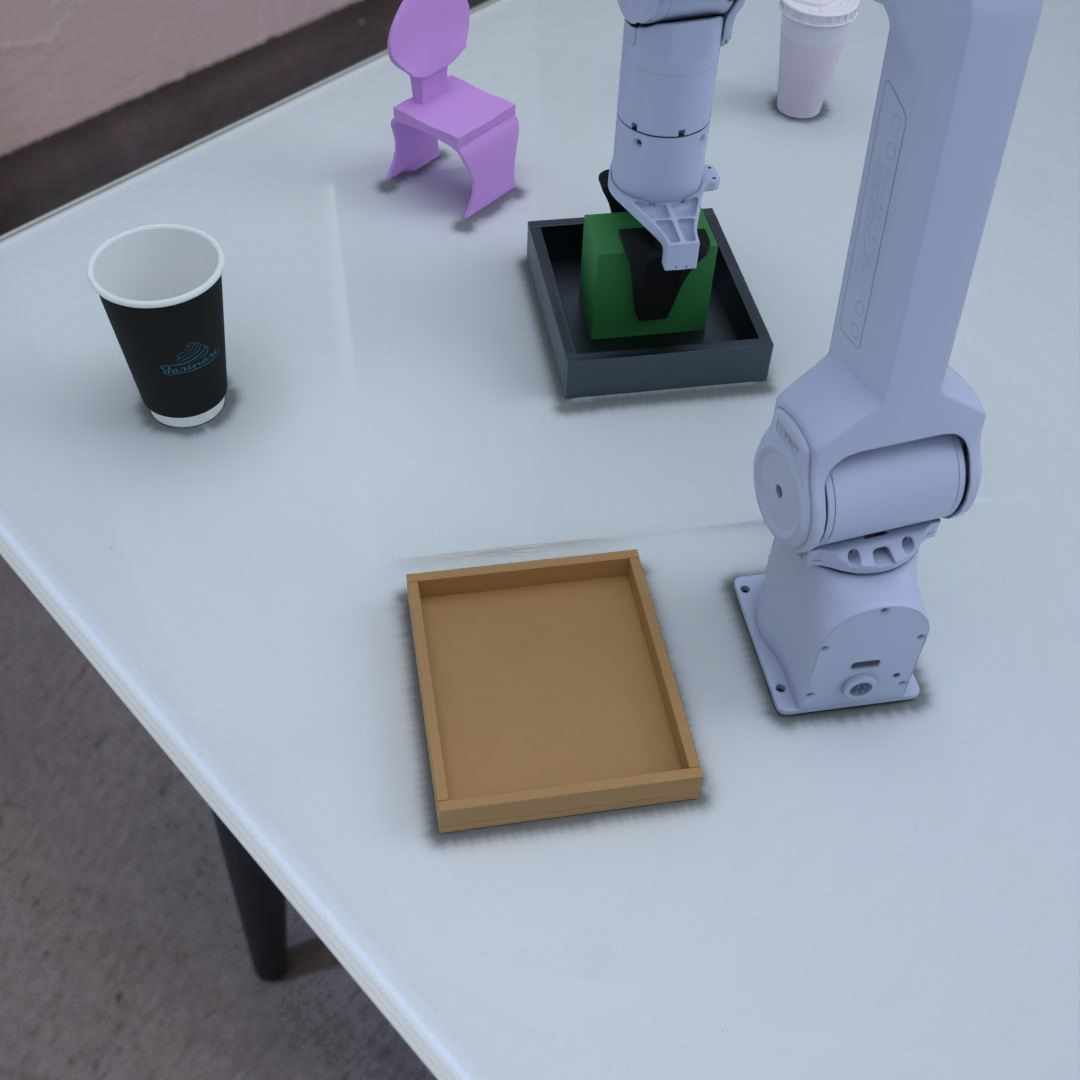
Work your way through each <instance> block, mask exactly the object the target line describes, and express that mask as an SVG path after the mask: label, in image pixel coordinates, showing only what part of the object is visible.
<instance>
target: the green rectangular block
mask: <svg viewBox="0 0 1080 1080" xmlns="http://www.w3.org/2000/svg"><path fill="white" fill-rule="evenodd" d="M702 209H703V208H702V207H701V208H700V213H699V219H698V225H697V229H704V228H705V230H706V232H707V235H708V237H709V239H710V248H709V251H708V254H707V255H706V256H705V257H704V258H703V259H702V260H701V261H700V262H699V263H698V264H697V266H696V268H693V270H692V271H691V272H690V273H689V275H688V276H687V278H686V280H685V281H684V283H683V285H682V287H681V289H680V291H679V293H678V296H677V298H676V300H675V303H674V305H673V307H672V309H671V311H670V313H669V315H668V317H667V318H666V319H658V320H646V321H639V320H638V318H637V316H636V312H635V308H634V302H633V288H632V274H631V268H630V263H629V260H628V258H627V256H626V254H625V251H624V249H623V246H622V244H621V241H620V238H619V235H618V232H619V229H628V228H641V227H644V226H643V225H642V224H641V223H640V222H639V221H638V220H637V219H636V218H635V217H634V216H633V215H632V214H630V213H629V212H618V213H611V212H607V213H605V212H604V213H591V214H584V216H583V217H584V229H583V244H582V259H581V274H580V290H579V302H580V305H581V308H582V311H583V315H584V318H585V321H586V324H587V328H588V331H589V334H590V337H591V340H596V339H607V338H619V337H631V336H642V335H654V334H666V333H677V332H689V331H701V330H705V325H706V318H707V312H708V306H709V299H710V293H711V287H712V280H713V274H714V268H715V261H716V255H717V249H718V244H717V242H716V240H715V238H714V235H713V233H712V231H711V229H710V226H709V224H708V222H707V219H706V217H705V215H704V213H703V210H702Z"/></svg>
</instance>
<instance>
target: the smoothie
mask: <svg viewBox="0 0 1080 1080" xmlns="http://www.w3.org/2000/svg"><path fill="white" fill-rule="evenodd" d="M777 4H778V9H779V10H780V13H781V18H780V35H779V36H780V39H779V57H778V58H779V59H778V77H777V78H778V79H777V98H776V99H777V100H776V107H777V110H778V111H779V112H780V113H782V114H783V115H786V116H787V117H790V118H793V119H810V118H814V117H816V116H818V115H819V114H820V112H821V110H822V106H823V103H824V101H825V98H826V95H827V92H828V89H829V86H830V83H831V81H832V77H833V75H834V72H835V69H836V66H837V64H838V60H839V59H840V55H841V51H842V49H843V47H844V43H845V40H846V38H847V35H848V32H849V28H850V26H851V23H852V22H853V21H855V19H856V18H857V16H858V14H859V7H860V0H779V1H778V2H777Z"/></svg>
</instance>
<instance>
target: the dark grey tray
mask: <svg viewBox="0 0 1080 1080" xmlns="http://www.w3.org/2000/svg"><path fill="white" fill-rule="evenodd" d="M702 210H703V213H704V215H705V217H706V219H707V222H708V224H709V226H710V229H711V231H712V233H713V235H714V238H715V240H716V242H717V244H718V249H717V255H716V261H715V268H714V274H713V280H712V287H711V293H710V299H709V306H708V312H707V318H706V325H705V330H701V331H689V332H677V333H666V334H654V335H642V336H631V337H619V338H607V339H596V340H591V337H590V334H589V331H588V328H587V324H586V321H585V318H584V315H583V311H582V308H581V305H580V302H579V290H580V274H581V259H582V244H583V229H584V216H583V217H582V216H581V217H568V218H556V219H555V218H554V219H553V218H552V219H541V220H528V221H527V234H526V236H527V237H526V259H527V263H528V266H529V270H530V274H531V277H532V281H533V284H534V288H535V292H536V296H537V300H538V303H539V306H540V310H541V314H542V319H543V321H544V325H545V329H546V332H547V336H548V340H549V343H550V347H551V351H552V354H553V358H554V361H555V365H556V369H557V372H558V373H557V374H558V376H559V380H560V384H561V387H562V391H563V394H564V398H565V400H567V399H578V398H579V399H580V398H591V397H601V396H613V395H622V394H633V393H644V392H656V391H666V390H677V389H688V388H698V387H699V388H700V387H709V386H710V387H711V386H720V385H731V384H739V383H740V384H742V383H755V382H763V381H767V379H768V375H769V370H770V365H771V359H772V355H773V350H774V346H775V344H774V342H773V340H772V338H771V335H770V333H769V330H768V329H767V326H766V324H765V322H764V320H763V317H762V315H761V313H760V311H759V309H758V306H757V304H756V302H755V299H754V297H753V295H752V292H751V291H750V288H749V286H748V284H747V281H746V279H745V277H744V275H743V272H742V270H741V268H740V265H739V264H738V262H737V259H736V257H735V254H734V253H733V250H732V248H731V246H730V243H729V241H728V239H727V237H726V235H725V233H724V230H723V228H722V226H721V223H720V222H719V219H718V217H717V214H716V213H715V211H714V208H713V207H705V208H702Z"/></svg>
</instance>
